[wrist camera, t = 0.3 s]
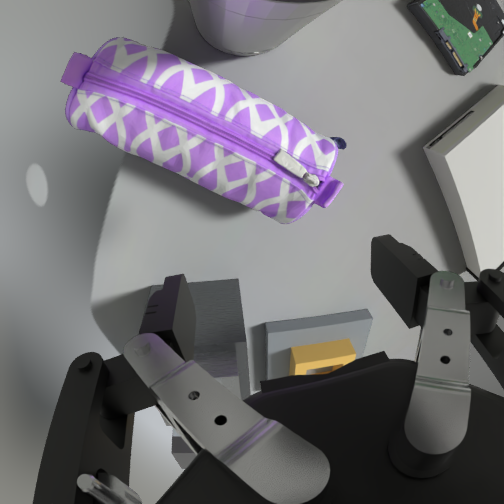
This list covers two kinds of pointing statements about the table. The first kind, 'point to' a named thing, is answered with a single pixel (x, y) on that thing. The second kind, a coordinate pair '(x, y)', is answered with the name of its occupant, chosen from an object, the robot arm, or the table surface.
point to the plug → (181, 451)
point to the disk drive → (461, 29)
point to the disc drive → (474, 180)
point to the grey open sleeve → (219, 334)
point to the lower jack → (315, 343)
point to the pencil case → (202, 128)
